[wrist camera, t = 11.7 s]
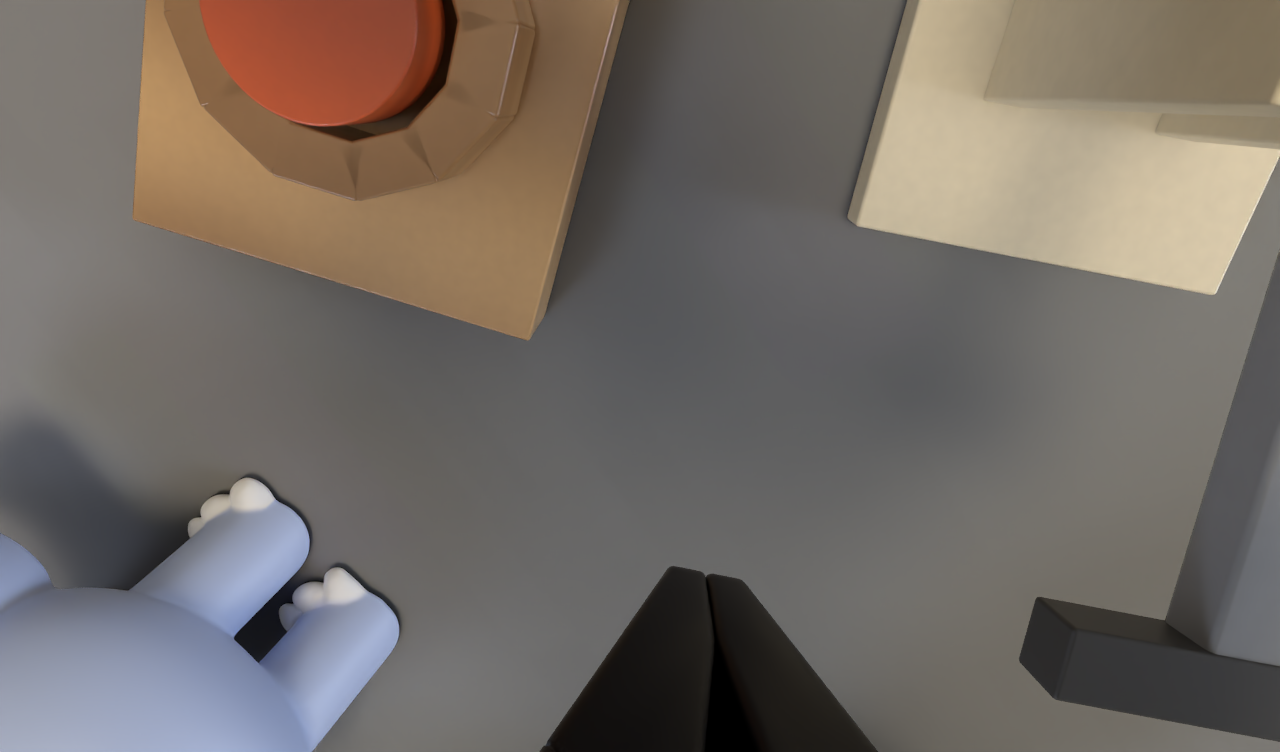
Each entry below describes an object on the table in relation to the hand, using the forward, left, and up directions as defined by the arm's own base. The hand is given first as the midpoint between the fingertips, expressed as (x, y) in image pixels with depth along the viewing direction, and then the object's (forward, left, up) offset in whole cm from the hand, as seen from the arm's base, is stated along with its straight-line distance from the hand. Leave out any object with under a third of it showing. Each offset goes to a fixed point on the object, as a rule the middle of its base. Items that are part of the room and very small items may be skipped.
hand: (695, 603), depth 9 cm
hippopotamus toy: (-18, +7, -13) cm, 23 cm away
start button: (+1, +10, -9) cm, 13 cm away
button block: (+1, +10, -13) cm, 16 cm away
